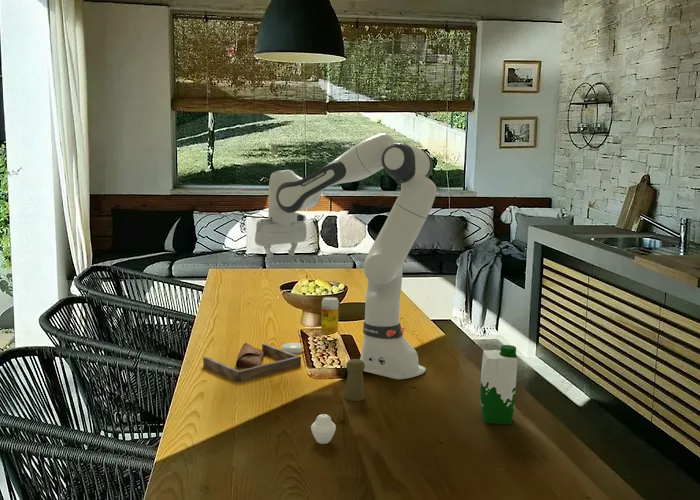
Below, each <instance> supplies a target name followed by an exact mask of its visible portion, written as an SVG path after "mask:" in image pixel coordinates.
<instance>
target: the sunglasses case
mask: <svg viewBox="0 0 700 500" xmlns="http://www.w3.org/2000/svg"><path fill="white" fill-rule="evenodd" d="M265 355H266V354H265V352H264V351H263V350H262V349H259V348H257V347H254V346H253V345H251V344H250V343H247V342H245V343H243V345H241V348H240V350H239V352H238V356H237V358H236V362H235V366H236V369H247V368H251V367H256V366H260V365H263V364H262V363H263V360H264V357H265Z"/></svg>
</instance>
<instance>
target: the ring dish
mask: <svg viewBox="0 0 700 500" xmlns="http://www.w3.org/2000/svg"><path fill="white" fill-rule="evenodd" d="M301 344H302V343H301V342H300V343H299V342H287V343H283V344H282V345H281V350H284V351H287V352H289V353H292V354H295V355H297V354H298V355H299V354H302V346H301Z"/></svg>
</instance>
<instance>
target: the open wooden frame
mask: <svg viewBox="0 0 700 500" xmlns="http://www.w3.org/2000/svg"><path fill="white" fill-rule="evenodd" d="M261 346H262V347H261V350H263V351H264V352H265V354H264V355H267V356H270V357H272V358H275V359H277V360H276V361H272V362H269V363H264V364H262V365H260V366H256V367H251V368H242V369H238V368H235V367H232V366H230V365H228V364H225V363H223V362H220V361H218V360H216V359H214V358H211V357H210V356H209V357H208V356H203V358H202V362H203V363H202V365H203V367H204V368H206V369H209V370H211V371H212V370H213V372H215V373H218V374H219V375H222V376H224V377H226V378H228V379H231V380H233V381H235V382H238V383H240V382H244V381H247V380H251V379H255V378H259V377H262V376H266V375H270V374H274V373H279V372H282V371H287V370H291V369H294V368H298V367H301V366H302V356H300V355H297V354H292V353H289V352H287V351H284V350H282V348H278V347H276V346H272V345H270V344H268V343H262V344H261Z"/></svg>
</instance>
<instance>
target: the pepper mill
mask: <svg viewBox="0 0 700 500" xmlns="http://www.w3.org/2000/svg"><path fill="white" fill-rule="evenodd" d="M364 368H365V364H364V362H363V361H362V360H360V358H352V359H349V360H348V361H347V362H346V369H347V376H346V384H345V389H344V396H343V398H344V399H345V400H347V401H351V402H360V401H363V400H365V399H366V393H365V391H366V390H365V383H364V373H363V372H365V371H364Z"/></svg>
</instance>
